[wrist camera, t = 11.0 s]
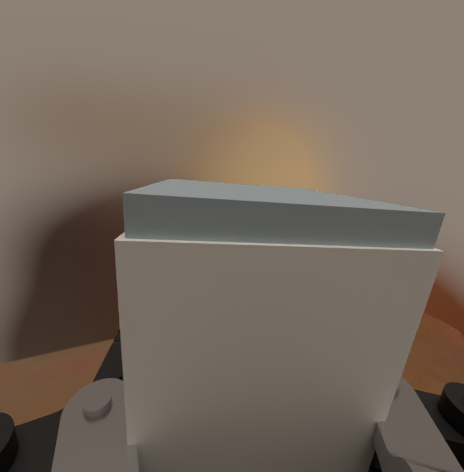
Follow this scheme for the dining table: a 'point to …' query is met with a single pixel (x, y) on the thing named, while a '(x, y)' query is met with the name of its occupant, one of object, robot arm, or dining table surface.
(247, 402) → the tea tin
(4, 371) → the dining table surface
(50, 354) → the dining table surface
